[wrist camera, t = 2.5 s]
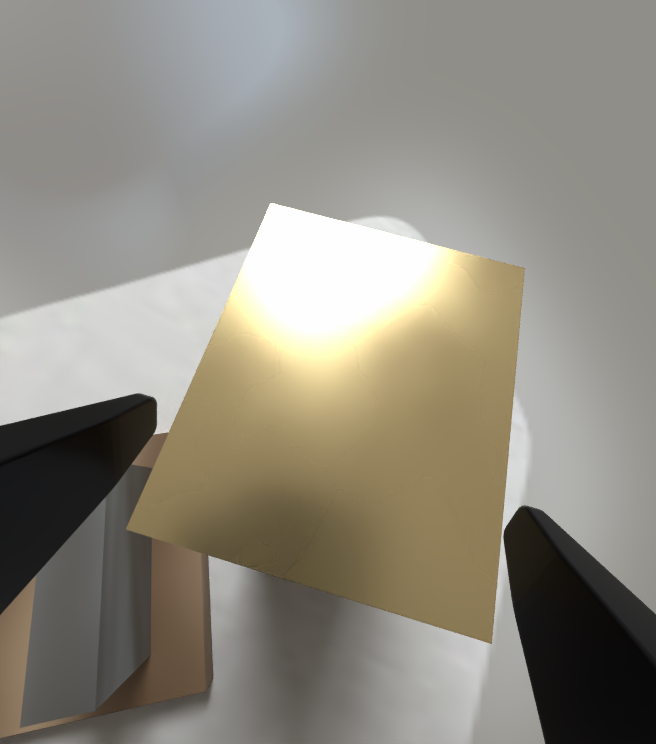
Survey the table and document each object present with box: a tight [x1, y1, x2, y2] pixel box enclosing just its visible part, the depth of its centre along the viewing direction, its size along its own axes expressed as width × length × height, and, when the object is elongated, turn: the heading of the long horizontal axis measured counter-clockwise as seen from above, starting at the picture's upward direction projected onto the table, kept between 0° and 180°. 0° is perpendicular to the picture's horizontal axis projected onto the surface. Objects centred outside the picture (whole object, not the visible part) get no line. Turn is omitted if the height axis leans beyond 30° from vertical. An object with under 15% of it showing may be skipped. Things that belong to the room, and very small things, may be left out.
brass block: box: [126, 204, 525, 644], centre depth 11 cm, size 6×5×12 cm
